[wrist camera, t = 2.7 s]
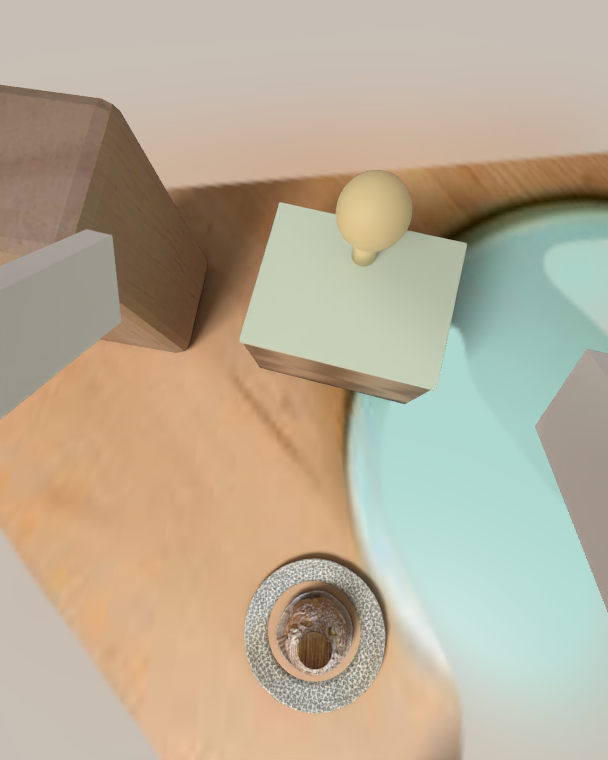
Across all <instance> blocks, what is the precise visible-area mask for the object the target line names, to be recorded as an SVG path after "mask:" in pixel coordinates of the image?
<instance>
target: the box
mask: <svg viewBox="0 0 608 760" xmlns="http://www.w3.org/2000/svg"><path fill="white" fill-rule="evenodd" d="M244 345H245V346H246V348H247V349H248V351H249V352H250V353H251V355H252V356H253V358H254V359H255V361H256V362H257V364H258V365H259V367H260V368H264V369H268V370H272V371H276V372H279V373H283V374H287V375H291V376H295V377H299V378H303V379H307V380H311V381H315V382H319V383H323V384H327V385H331V386H335V387H339V388H343V389H347V390H351V391H355V392H359V393H363V394H367V395H371V396H375V397H379V398H383V399H387V400H391V401H395V402H399V403H403V404H406V403H407V402H409V401H411V400H413V399H415V398H417V397H419V396H420V395H422V394H424V393H426V392H428V391H430V390H429V389H425V388H421V387H417V386H413V385H409V384H405V383H401V382H397V381H393V380H389V379H385V378H381V377H377V376H373V375H369V374H365V373H361V372H357V371H353V370H349V369H345V368H341V367H336V366H332V365H328V364H324V363H320V362H316V361H312V360H308V359H304V358H300V357H296V356H292V355H288V354H284V353H280V352H276V351H272V350H268V349H264V348H260V347H256V346H252V345H248V344H244Z"/></svg>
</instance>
